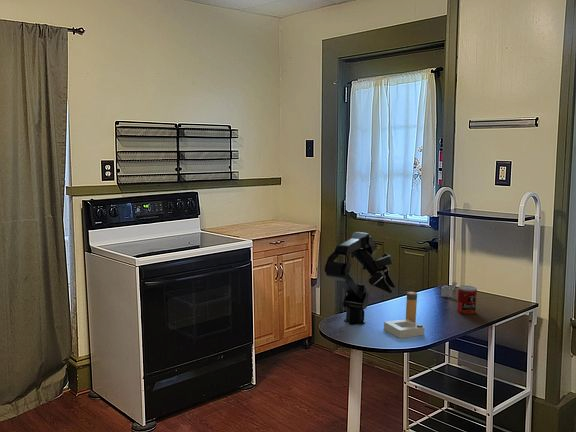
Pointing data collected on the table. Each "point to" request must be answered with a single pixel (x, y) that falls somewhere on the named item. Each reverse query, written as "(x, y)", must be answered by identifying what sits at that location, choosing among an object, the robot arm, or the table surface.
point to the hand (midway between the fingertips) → (392, 289)
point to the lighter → (447, 290)
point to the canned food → (466, 299)
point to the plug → (411, 306)
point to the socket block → (404, 328)
